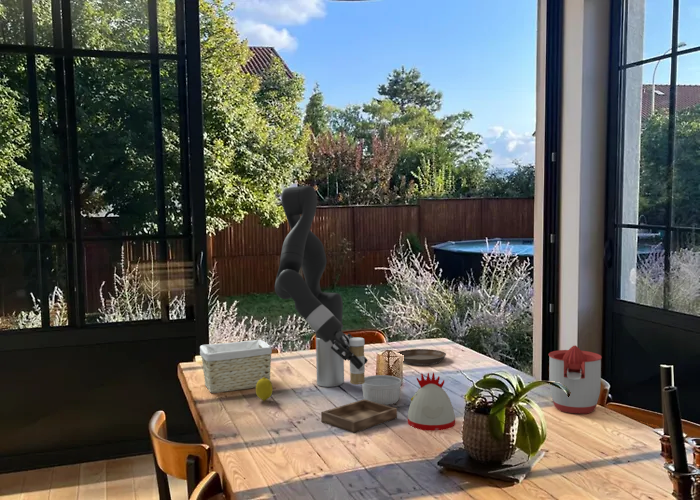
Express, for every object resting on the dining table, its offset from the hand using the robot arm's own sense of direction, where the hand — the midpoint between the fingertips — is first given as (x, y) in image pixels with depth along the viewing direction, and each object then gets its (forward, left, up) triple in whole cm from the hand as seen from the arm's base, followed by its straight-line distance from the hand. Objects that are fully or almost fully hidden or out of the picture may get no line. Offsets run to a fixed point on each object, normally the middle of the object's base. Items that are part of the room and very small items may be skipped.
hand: (363, 364), depth 194 cm
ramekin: (-18, -10, -17) cm, 27 cm away
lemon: (+9, -38, -17) cm, 43 cm away
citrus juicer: (-52, +40, -17) cm, 68 cm away
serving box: (+1, -1, -17) cm, 17 cm away
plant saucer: (-70, -37, -17) cm, 82 cm away
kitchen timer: (-12, +16, -17) cm, 26 cm away
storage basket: (+4, -62, -17) cm, 64 cm away
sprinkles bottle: (+1, -2, -6) cm, 6 cm away
